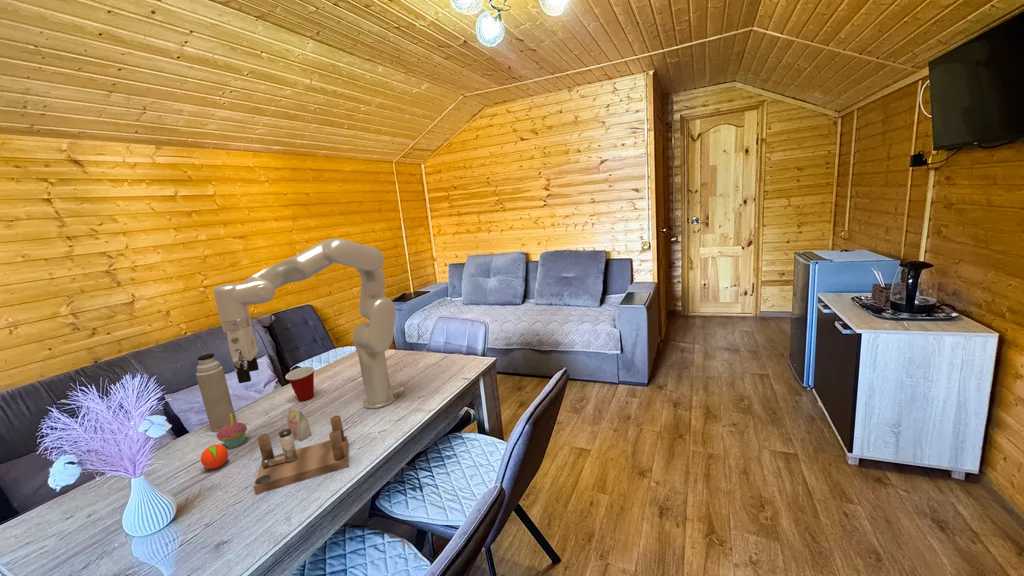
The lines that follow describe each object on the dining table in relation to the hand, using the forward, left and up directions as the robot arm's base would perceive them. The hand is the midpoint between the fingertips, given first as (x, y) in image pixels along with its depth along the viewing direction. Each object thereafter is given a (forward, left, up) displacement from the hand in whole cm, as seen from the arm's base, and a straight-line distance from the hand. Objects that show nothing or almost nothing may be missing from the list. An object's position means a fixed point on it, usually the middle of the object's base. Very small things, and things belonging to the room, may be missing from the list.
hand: (249, 376), depth 130 cm
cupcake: (+11, -10, -26) cm, 30 cm away
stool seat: (-13, +17, -26) cm, 33 cm away
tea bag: (-10, -3, -26) cm, 28 cm away
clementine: (+13, +3, -26) cm, 29 cm away
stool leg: (-6, +16, -23) cm, 28 cm away
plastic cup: (-9, -35, -26) cm, 45 cm away
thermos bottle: (+18, -27, -26) cm, 42 cm away
